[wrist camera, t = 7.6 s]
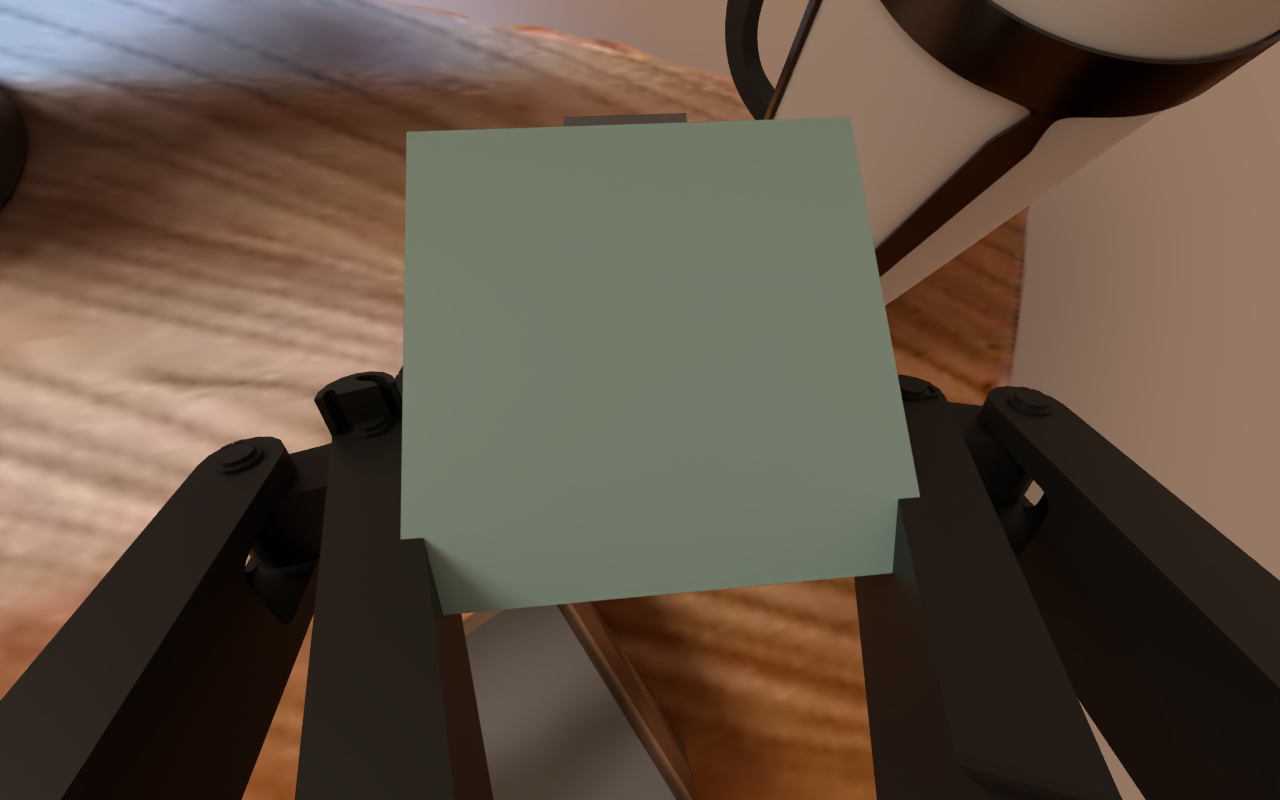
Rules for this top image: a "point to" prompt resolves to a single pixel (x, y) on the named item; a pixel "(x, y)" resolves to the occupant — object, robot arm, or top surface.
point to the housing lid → (645, 361)
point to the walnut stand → (568, 710)
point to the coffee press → (986, 98)
